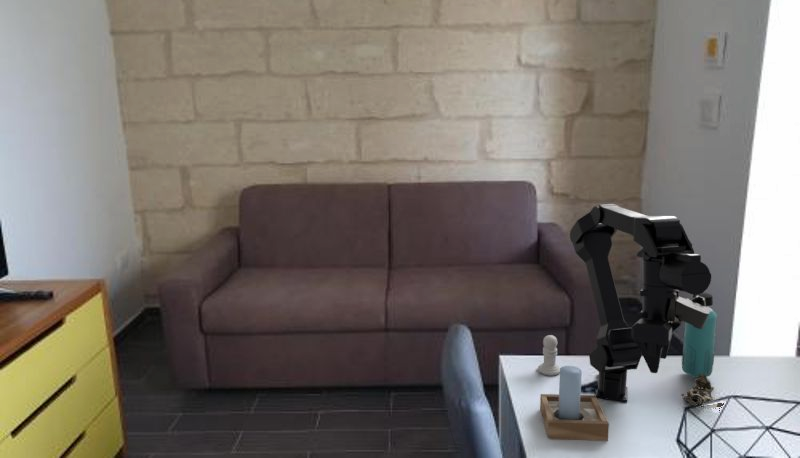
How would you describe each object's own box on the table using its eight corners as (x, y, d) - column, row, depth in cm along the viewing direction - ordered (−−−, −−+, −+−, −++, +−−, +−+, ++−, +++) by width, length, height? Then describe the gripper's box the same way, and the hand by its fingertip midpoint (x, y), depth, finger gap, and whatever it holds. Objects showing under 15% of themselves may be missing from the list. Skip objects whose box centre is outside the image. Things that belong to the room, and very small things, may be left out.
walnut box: (540, 409, 125) (540, 394, 124) (594, 410, 124) (595, 395, 123) (548, 438, 114) (549, 422, 113) (607, 440, 113) (608, 423, 112)
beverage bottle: (717, 383, 134) (726, 298, 130) (687, 384, 135) (695, 299, 130) (703, 370, 141) (711, 289, 137) (674, 371, 141) (682, 289, 137)
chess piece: (558, 378, 139) (559, 341, 137) (535, 373, 141) (536, 337, 139) (562, 368, 143) (564, 333, 141) (540, 364, 145) (541, 329, 144)
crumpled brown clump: (678, 414, 120) (665, 372, 129) (677, 434, 124) (663, 392, 133) (744, 412, 118) (725, 369, 127) (740, 432, 122) (722, 390, 130)
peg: (566, 419, 121) (569, 363, 118) (583, 427, 118) (586, 371, 115) (553, 425, 119) (555, 369, 116) (569, 434, 115) (572, 376, 113)
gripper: (701, 298, 100) (699, 388, 101) (713, 278, 115) (711, 357, 117) (630, 292, 106) (630, 378, 107) (651, 274, 121) (650, 349, 123)
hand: (658, 365), depth 114 cm, fingers open, 9 cm apart
